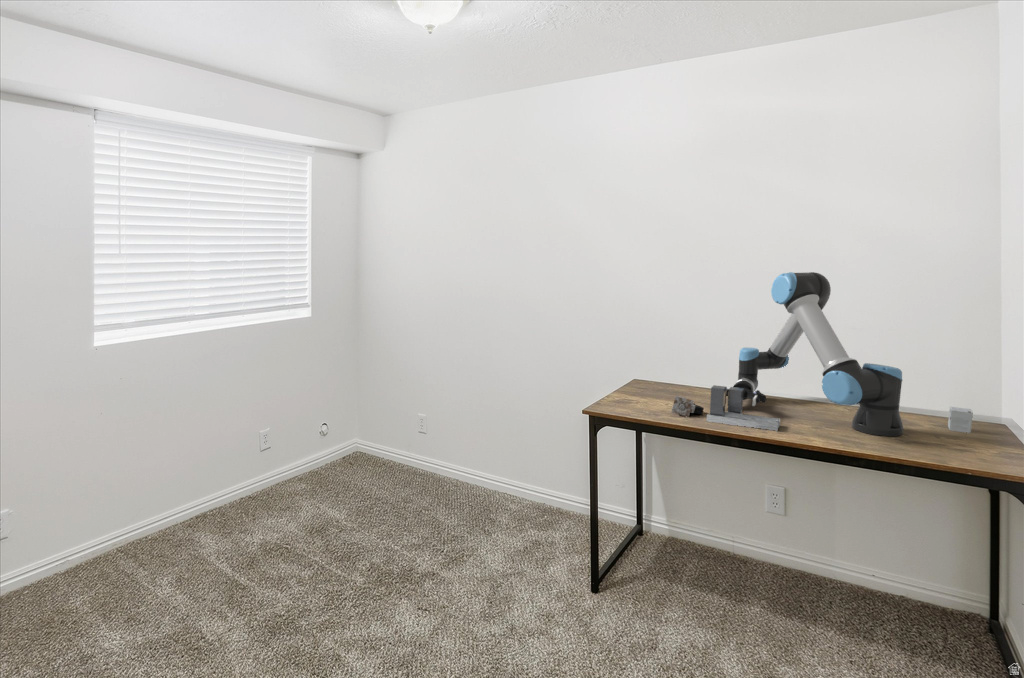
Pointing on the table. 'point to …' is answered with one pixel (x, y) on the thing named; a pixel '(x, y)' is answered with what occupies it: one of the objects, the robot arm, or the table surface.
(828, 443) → the table surface
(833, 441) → the table surface
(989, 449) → the table surface
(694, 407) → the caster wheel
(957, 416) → the skincare box
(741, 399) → the grey upright block
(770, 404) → the table surface
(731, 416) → the grey block stand
